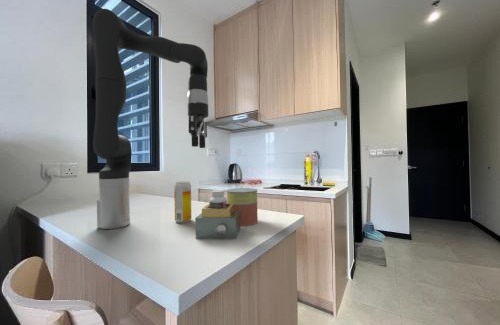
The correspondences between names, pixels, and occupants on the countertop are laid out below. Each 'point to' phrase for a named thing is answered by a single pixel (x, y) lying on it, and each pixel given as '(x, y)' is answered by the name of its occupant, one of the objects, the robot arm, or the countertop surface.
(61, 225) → the countertop surface
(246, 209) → the canned food
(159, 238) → the countertop surface
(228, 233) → the gold grey hollow block
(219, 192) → the pill bottle
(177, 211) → the beer can
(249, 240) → the countertop surface
